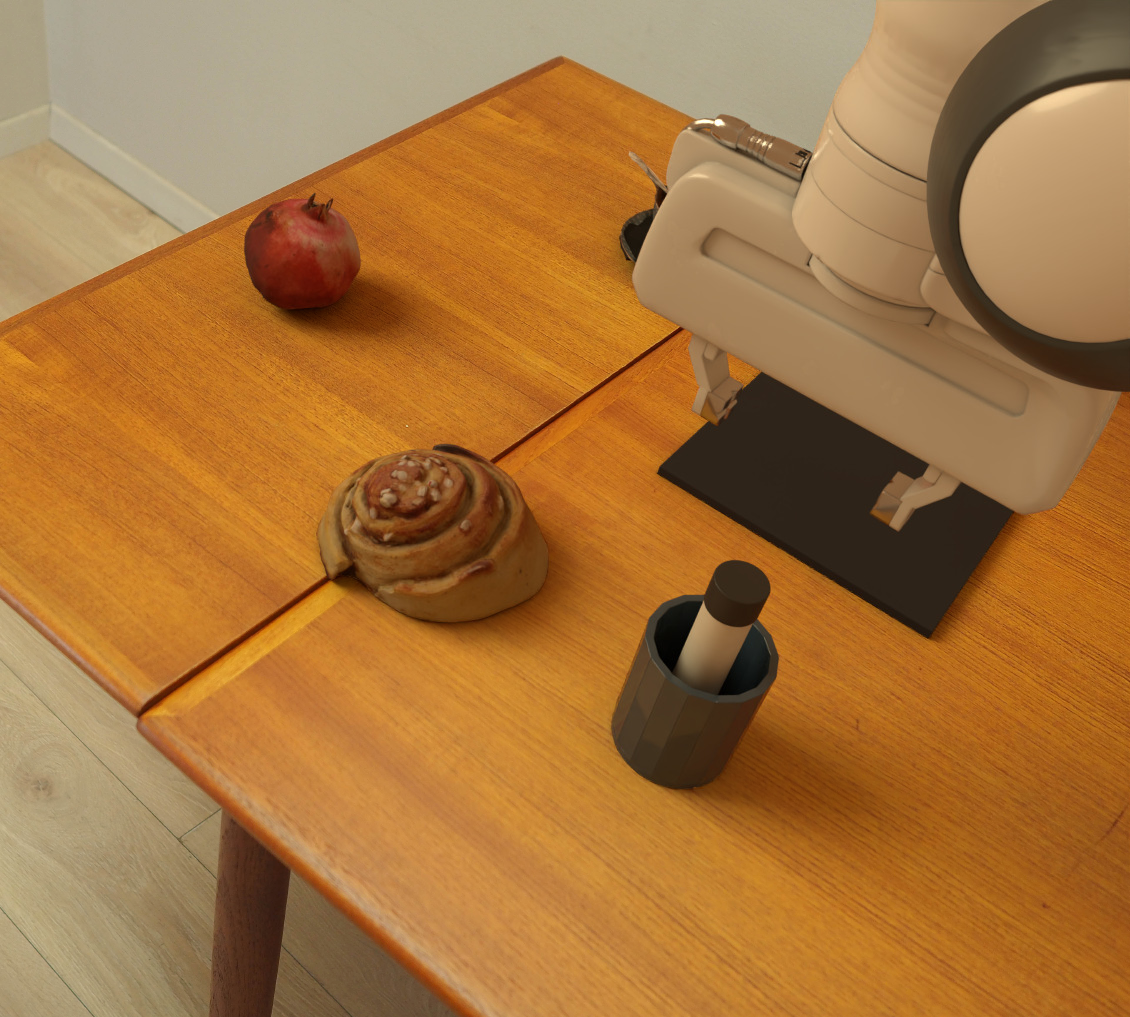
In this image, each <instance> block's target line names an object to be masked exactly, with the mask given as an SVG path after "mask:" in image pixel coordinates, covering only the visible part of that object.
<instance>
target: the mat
mask: <svg viewBox="0 0 1130 1017" xmlns="http://www.w3.org/2000/svg"><path fill="white" fill-rule="evenodd" d="M736 400H737V404H736V406H735V408H734V410H733V412H732V413H731V414H730V416H729V417H728V418H727V419H723V422H722V423H721V424H720V425H719V426H716V425H715V424H713V423H711V422H709V421H708V420H707V421H706V422H705V424H703V425H702V426H701V427H700V428H699V429H698V430H697V431H695V433H693V434H692V436H690V437H689V438H688V439H687V440H686V441H685V442H684V443H683V444H682V445H680V446H679V447H678V449H676V450H675V451H674V452H673V453H672V454H671V455H670V456H669V457H668V458H667V459H666V460H664V461H663V462H662V463H661V464H660V465H659V467H658V470H657V472H656V473H657V475H659V476H661V477H662V478H665V479H666V480H667V481H669V482H670V483H672V484H674V485H676V486H677V487H678V488H681V489H682V490H683V491H685V492H687V493H689V494H690V495H692V496H693V497H695V498H697V500H700V501H701V502H703V503H705V504H707V505H708V506H710V507H711V508H713V509H715V510H716V511H718V512H720V513H721V514H723V515H725V516H726V517H727V518H729V519H731V520H733V521H734V522H736V523H738V524H739V525H741V526H743V527H745V528H746V529H747V530H749V531H751V532H753V533H754V534H755V535H757V536H759V537H761V538H762V539H764V540H765V541H767V542H769V543H771V544H772V545H774V546H776V547H777V548H778V549H781V550H782V551H784V552H785V553H787V554H788V555H790V556H792V557H793V558H795V559H797V560H798V561H800V562H802V563H803V564H805V565H806V566H808V567H810V568H811V569H813V570H815V571H816V572H818V573H820V574H821V575H823V576H825V577H826V578H828V579H830V580H831V581H833V582H835V583H836V584H838V585H839V586H841V587H843V588H845V589H846V590H848V591H849V592H851V593H853V594H854V595H856V596H857V597H859V598H861V599H862V600H863V601H865V602H867V603H869V604H870V605H872V606H873V607H876V608H877V609H879V610H880V611H882V612H884V613H885V614H887V615H889V616H891V617H892V618H893V619H895V620H897V621H899V622H900V623H902V624H903V625H905V626H906V627H908V628H910V629H911V630H912V631H915V632H916V633H918V634H920V635H921V636H923V637H925V638H926V639H929V638H930V637H931V636H932V634H933V632H935V630H936V628H937V627H938V626H939V624H940V622H941V621H942V620H943V619H944V616H945V615H946V614H947V612H948V610H949V609H950V608H951V606H952V605H953V603H954V602H955V600H956V599H957V597H958V595H959V594H960V593H961V591H962V590H963V588H964V587H965V586H966V584H967V582H968V581H969V579H970V578H971V576H972V575H973V574H974V572H975V571H976V569H977V567H978V566H979V564H980V563H981V561H982V560H983V558H984V557H985V556H986V554H987V553H988V551H989V549H990V548H991V547H992V545H993V543H994V542H995V541H996V540H997V538H998V536H999V535H1000V533H1001V532H1002V530H1003V529H1004V527H1005V525H1006V524H1007V523H1008V522H1009V520H1010V518H1011V516H1012V515H1013V514H1014V512H1015V511H1013V510H1011V509H1009V508H1007V507H1006V506H1004V505H1002V504H1000V503H999V502H997V501H995V500H993V499H991V498H990V497H988V496H986V495H984V494H982V493H981V492H979V491H977V490H975V489H973V488H972V487H970V486H968V485H966V484H964V483H963V482H961V483H960V485H959V486H958V487H957V489H956V490H955V491H954V493H953V494H952V495H951V496H949V497H946V498H943V499H941V500H938V501H936V502H933V503H930V504H928V505H925V506H922V507H920V508H917V509H915V511H914V512H913V513H912V515H911V516H910V518H909V519H908V520H907V522H906V523H905V524H904V526H903V527H902V528H901V529H900V531H897V530H895V529H893V528H892V527H890V526H888V525H887V524H885V523H883V522H882V521H880V520H878V519H877V518H875V517H874V516H872V515H870V512H871V510H872V508H873V507H874V506H875V504H876V503H877V499H878V498H879V496H880V494H881V492H882V491H883V489H884V488H885V487H886V486H887V484H888V483H890V482H891V480H892V478H893V477H894V476H895V475H896V474H897V472H898V471H899V472H901V473H903V474H904V475H906V476H908V477H910V478H912V479H914V480H915V479H917V478H919V477H922V476H923V475H924V473H925V471H926V470H927V468H928V466H929V464H928V463H926V462H925V461H923V460H921V459H919V458H917V457H916V456H914V455H912V454H910V453H908V452H906V451H905V450H903V449H901V448H899V447H897V446H896V445H894V444H892V443H890V442H888V441H887V440H885V439H883V438H881V437H879V436H877V435H876V434H874V433H872V432H870V431H868V430H867V429H865V428H863V427H861V426H859V425H858V424H856V423H854V422H852V421H850V420H848V419H847V418H845V417H843V416H841V415H839V414H838V413H836V412H834V411H832V410H830V409H828V408H827V407H825V406H823V405H821V404H819V403H818V402H816V401H814V400H812V399H810V398H808V397H807V396H805V395H803V394H801V393H799V392H798V391H796V390H794V389H792V388H790V387H789V386H787V385H785V384H783V383H781V382H780V381H778V380H776V379H774V378H772V377H771V376H769V375H767V374H765V373H763V372H761V371H760V372H759V373H758V374H757V375H756V376H755V377H754V378H753V379H752V380H751V381H750V382H749V383H748V384H746V386H743V389H742V391H741V394H740V396H739V397H738V398H736Z"/></svg>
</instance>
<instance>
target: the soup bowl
mask: <svg viewBox="0 0 1130 1017" xmlns="http://www.w3.org/2000/svg"><path fill="white" fill-rule="evenodd" d="M628 156H629V158H630V159H631V160H632V161H633V162H634V163H636V164H637V165H638V166H639V167H640V168H641V170H643V172H644V173H645V174H646V176H647V177H648V178H649V180H651V181H652V183H653V185H654V187H655V190H656V193H655V194H654V202H653V203H654V204H653V208H652V207H651V208H649V209H646V210H642V211H639V212H637V213H636V214H634V215H633V216H631V217H629V218H628V219H627V220H625V221H624V223H623V225H622V227H621V229H620V234H619V237H618V239H619V244H620V249H621V251H622V253H623V256H624V257H625V258H624V259H625V260H626V261H631V262H633V263H634V264H635V265H636V262H637V259H638V256H639V253H640V251H641V248H642V246H643V243H644V240H645V238H646V236H647V233H648V231H649V229H650V227H651V225H652V222H653V220H654V218H655V216H656V214H657V212H658V210H659V208H660V206H661V204H662V203H663V201H664V199H665V197H666V196H667V194H668V192H669V191H668V187H667V184H664V182H663V181H662V180H661V178H659V176H658V175H657V174H656V173H655V172H654V171H653V169H651V168H650V166H649V165H647V164H646V162H644V161H643V159H642V158H641V157H640V156H639V155H638V154H637V153H635V152H634V151H630V150H629V151H628Z"/></svg>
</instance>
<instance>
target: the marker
mask: <svg viewBox="0 0 1130 1017" xmlns="http://www.w3.org/2000/svg"><path fill="white" fill-rule="evenodd" d="M771 591H772V587H771V583H770V580H769V578H768V576H767V575H766V574H765V573H764V571H763V569H761V568H759V567H758V566H756V565H755V564H753V563H751V562H748V561H745V560H739V559H730V560H726V561H723V562H721V563H720V564H719V565H717V567H716V568H715V569H714V571H713V573H712V576H711V578H710V579H709V583H708V585H707V587H706V590H705V592H704V594H703V595H704V601H703V604H702V606H701V608H700V610H699V613H698V615H697V617H696V620H695V622H694V624H693V627H692V629H691V631H690V633H689V636H688V638H687V640H686V643H685V645H684V647H683V650H682V652H681V654H680V656H679V659H678V661H677V663H676V666H675V668H674V670H673V673H672V674H673V675H674V676H676V677H677V678H678V679H680V680H681V681H683V682H684V683H686V684H687V685H689V686H690V687H692V688H694V689H697V690H700V691H703V692H707V693H710V694H713V695H718V693H719V691H720V689H721V687H722V685H723V683H724V681H725V679H726V677H727V675H728V673H729V671H730V669H731V667H732V665H733V663H734V661H735V659H736V657H737V655H738V653H739V651H740V649H741V647H742V645H743V643H744V641H745V638H746V636H747V634H748V632H749V630H750V628H751V626H752V624H753V623H754V622H755V621H756V620H757V619H759V616H760V614H761V613H762V611H763V609H764V607H765V605H766V603H767V600H768V599H769V596H770V594H771Z"/></svg>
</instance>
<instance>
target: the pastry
mask: <svg viewBox="0 0 1130 1017" xmlns="http://www.w3.org/2000/svg"><path fill="white" fill-rule="evenodd" d="M315 535H316V539H317V542H318V546H319V549H320V550H319V557H320V561H321V562H322V564H323V567H324V572H325V575H326V576H327V579H329V580H335V579H336V578H337V577H341V576H344V577H349V578H353V579H356V581H357V580H358V582H360V583H361V584H363V585H364V586H365V588H366V589H368V590H369V591H370V593H371V594H372V595H373V596H374V597H376V598H377V599H379V600H380V601H382V602H383V603H385V604H386V605H388V607H390V608H392V609H394V610H396V611H398V612H400V613H401V614H404V615H406V616H408V617H411V618H415V619H419V620H425V621H429V622H437V623H463V622H470V621H477V620H482V619H485V618H488V617H490V616H493V615H495V614H497V613H499V612H502V611H504V610H507V609H510V608H513V607H515V606H517V605H520V604H522V603H524V602H526V601H528V600H529V599H531V598H532V597H534V596H535V595H536V594H537V593H538V592H539V591H540V590H541V588H542V587H543V585H544V583H545V580H546V577H547V576H548V571H549V570H548V569H549V558H550V556H549V549H548V544H547V543H546V541H545V540H544V537H543V535H542V532H541V530H540V526H539V525H538V522H537V521H536V518H535V516H534V514H533V512H532V510H531V508H530V506H529V505H528V503H527V502H526V500H525V498H524V496H523V494H522V491H521V489H520V488H519V486H518V484H517V482H516V481H515V480H514V479H513V478H512V476H510V475H509V474H508V472H506V471H505V470H504V469H502V468H500V467H499V466H498V465H496V464H495V463H493V462H492V461H490V460H489V459H487V458H486V457H484V456H483V455H481V454H479V453H476V452H475V451H473V450H470V449H467V448H465V447H463V446H460V445H457V444H453V443H452V444H451V443H439V444H435V445H433V447H432V448H431V449H428V448H413V449H408V450H402V451H400V452H393V453H389V454H386V455H382V456H378V457H375V458H373V459H371V460H369V461H367V462H365V463H363V464H362V465H361V466H359V467H357V468H356V469H354V471H352V472H351V473H350V474H349V475H348V476H347V477H346V478H345V479H344V480H342V481H341V482H340V483H339V484H338V485H337V486H336V487H335V488H334V490H333V491H332V492H331V495H330V498H329V500H328V503H327V506H326V510H325V512H324V513H323V515H322V517H321V519H320V520H319V523H318V526H317V529H316V533H315Z"/></svg>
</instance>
